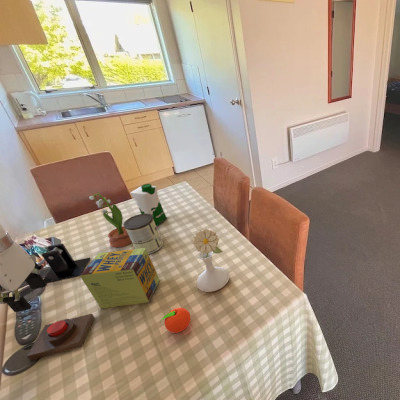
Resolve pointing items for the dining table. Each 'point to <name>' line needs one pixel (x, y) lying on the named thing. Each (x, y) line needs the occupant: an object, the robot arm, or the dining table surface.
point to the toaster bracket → (63, 264)
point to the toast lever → (39, 265)
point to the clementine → (177, 320)
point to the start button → (57, 328)
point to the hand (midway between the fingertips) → (31, 297)
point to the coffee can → (143, 232)
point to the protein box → (121, 278)
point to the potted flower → (114, 223)
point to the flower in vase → (209, 262)
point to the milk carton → (149, 202)
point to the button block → (62, 338)
